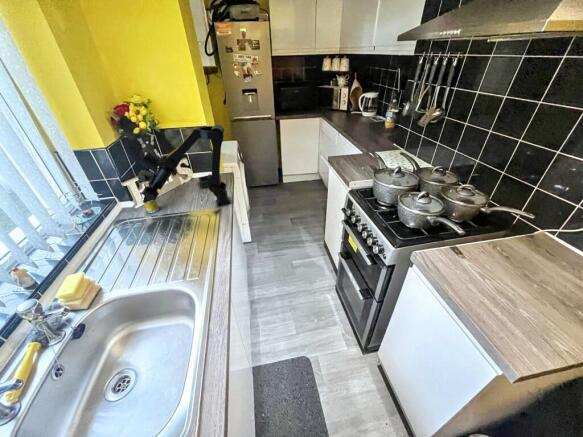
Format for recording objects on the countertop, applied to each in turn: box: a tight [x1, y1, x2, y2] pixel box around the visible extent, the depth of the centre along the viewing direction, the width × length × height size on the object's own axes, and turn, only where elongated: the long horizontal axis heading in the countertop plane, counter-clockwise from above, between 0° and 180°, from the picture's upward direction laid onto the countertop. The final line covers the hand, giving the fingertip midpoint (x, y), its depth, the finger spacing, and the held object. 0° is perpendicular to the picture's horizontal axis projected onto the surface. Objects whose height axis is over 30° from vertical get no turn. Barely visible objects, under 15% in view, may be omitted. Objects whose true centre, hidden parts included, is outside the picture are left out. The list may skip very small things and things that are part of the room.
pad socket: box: [198, 174, 209, 189], centre depth 147 cm, size 8×8×4 cm
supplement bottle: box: [141, 193, 160, 214], centre depth 124 cm, size 5×5×10 cm
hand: (146, 197), depth 122 cm, fingers open, 9 cm apart
